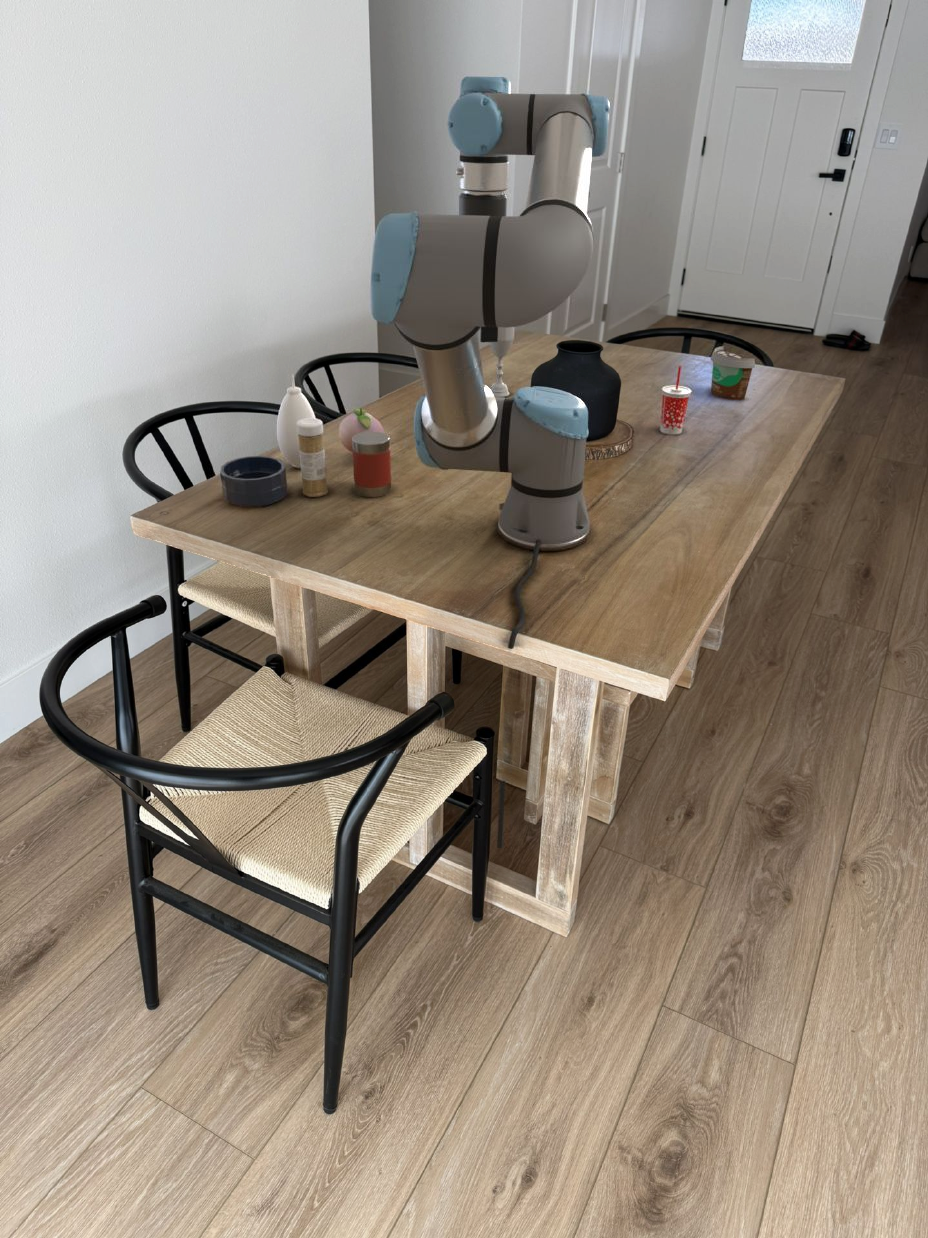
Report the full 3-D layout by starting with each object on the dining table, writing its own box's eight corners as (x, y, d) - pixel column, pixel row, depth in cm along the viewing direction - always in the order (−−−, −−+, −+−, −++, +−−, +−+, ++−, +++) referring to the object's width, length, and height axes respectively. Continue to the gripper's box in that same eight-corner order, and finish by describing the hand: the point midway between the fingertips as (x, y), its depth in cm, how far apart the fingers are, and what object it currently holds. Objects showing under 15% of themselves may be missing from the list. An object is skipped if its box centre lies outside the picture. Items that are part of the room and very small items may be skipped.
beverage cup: (690, 433, 189) (701, 368, 182) (666, 437, 187) (675, 371, 180) (675, 424, 194) (684, 360, 187) (651, 427, 192) (659, 363, 185)
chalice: (480, 395, 209) (481, 317, 199) (487, 387, 214) (489, 311, 205) (510, 399, 207) (513, 320, 197) (517, 390, 212) (520, 313, 203)
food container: (694, 389, 216) (701, 348, 211) (715, 386, 218) (721, 345, 213) (727, 404, 206) (735, 361, 201) (748, 401, 209) (756, 358, 203)
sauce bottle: (276, 461, 173) (267, 369, 163) (316, 456, 175) (309, 366, 166) (284, 476, 167) (275, 382, 157) (325, 471, 169) (318, 378, 160)
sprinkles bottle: (319, 485, 163) (313, 415, 156) (332, 493, 160) (327, 422, 153) (297, 492, 161) (291, 420, 154) (310, 500, 158) (304, 427, 151)
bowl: (287, 507, 155) (284, 478, 152) (222, 511, 153) (218, 481, 151) (288, 482, 164) (285, 454, 162) (226, 485, 163) (222, 457, 160)
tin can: (393, 496, 160) (391, 443, 154) (355, 498, 159) (352, 445, 153) (389, 481, 165) (387, 430, 160) (353, 483, 164) (350, 432, 159)
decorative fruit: (334, 453, 177) (330, 404, 172) (372, 446, 180) (369, 398, 175) (351, 469, 170) (348, 419, 165) (390, 462, 173) (388, 412, 168)
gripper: (445, 183, 147) (444, 315, 159) (476, 201, 127) (473, 351, 138) (488, 183, 149) (485, 313, 160) (527, 201, 128) (520, 349, 139)
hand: (479, 331), depth 149 cm, fingers open, 13 cm apart
